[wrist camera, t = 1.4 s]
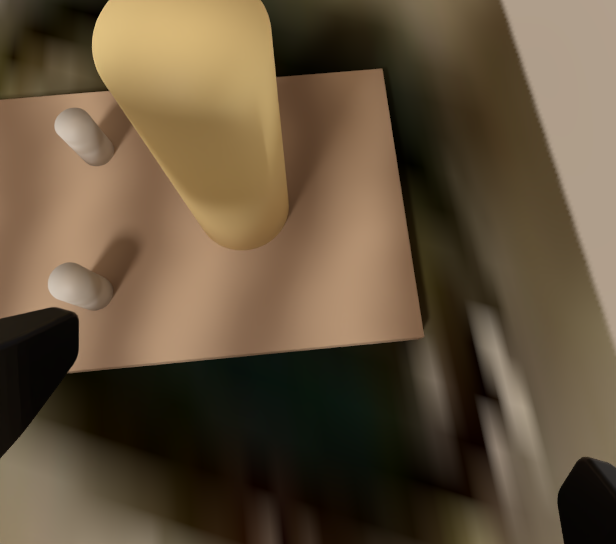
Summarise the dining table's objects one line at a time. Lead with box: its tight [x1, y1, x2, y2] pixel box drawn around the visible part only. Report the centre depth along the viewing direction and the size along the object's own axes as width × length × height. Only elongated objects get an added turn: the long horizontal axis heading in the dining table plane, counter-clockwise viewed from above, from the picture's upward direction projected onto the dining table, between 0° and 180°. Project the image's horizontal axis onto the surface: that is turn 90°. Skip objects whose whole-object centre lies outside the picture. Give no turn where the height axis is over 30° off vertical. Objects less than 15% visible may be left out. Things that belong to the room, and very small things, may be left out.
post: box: [92, 0, 289, 250], centre depth 16 cm, size 4×4×11 cm
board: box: [0, 69, 424, 373], centre depth 21 cm, size 26×14×4 cm, turn 95°
